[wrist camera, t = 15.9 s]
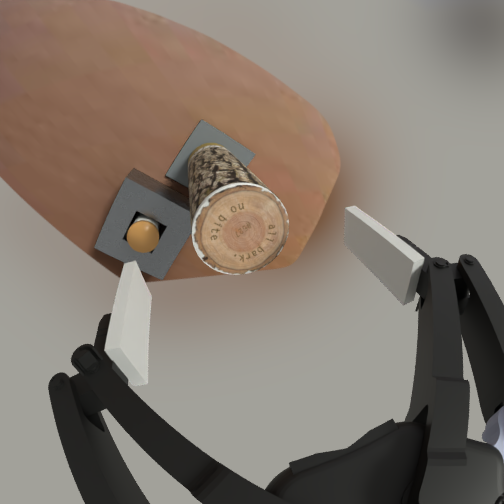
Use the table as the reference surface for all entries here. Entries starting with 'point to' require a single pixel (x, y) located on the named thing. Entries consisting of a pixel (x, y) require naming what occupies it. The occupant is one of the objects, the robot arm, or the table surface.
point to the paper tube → (232, 213)
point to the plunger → (143, 234)
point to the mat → (202, 136)
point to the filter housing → (156, 207)
